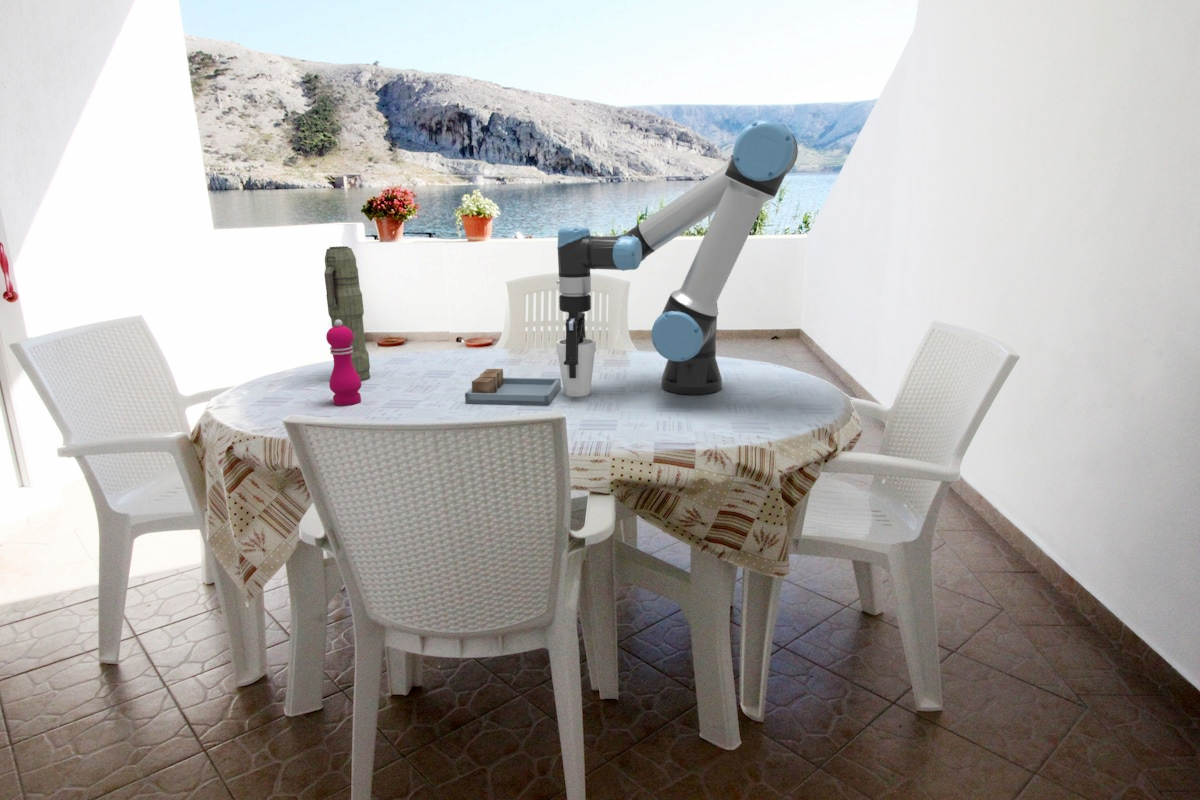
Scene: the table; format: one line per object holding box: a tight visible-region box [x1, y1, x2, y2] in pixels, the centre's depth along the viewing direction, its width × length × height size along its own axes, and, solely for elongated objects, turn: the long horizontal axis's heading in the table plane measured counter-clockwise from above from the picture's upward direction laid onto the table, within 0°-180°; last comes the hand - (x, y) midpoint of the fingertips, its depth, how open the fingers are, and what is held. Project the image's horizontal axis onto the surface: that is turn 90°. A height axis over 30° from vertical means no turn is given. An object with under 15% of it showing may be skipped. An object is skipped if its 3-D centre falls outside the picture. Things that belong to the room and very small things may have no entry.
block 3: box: [482, 368, 504, 388], centre depth 179 cm, size 4×4×4 cm
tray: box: [464, 377, 562, 406], centre depth 175 cm, size 20×16×2 cm
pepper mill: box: [325, 320, 362, 407], centre depth 168 cm, size 7×7×20 cm
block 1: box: [471, 376, 495, 393], centre depth 171 cm, size 4×4×4 cm
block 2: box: [478, 372, 498, 393], centre depth 175 cm, size 4×4×4 cm
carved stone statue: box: [323, 245, 371, 382], centre depth 188 cm, size 9×12×35 cm
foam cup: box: [555, 337, 597, 398], centre depth 174 cm, size 10×9×13 cm
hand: (576, 385), depth 175 cm, fingers closed on foam cup, 9 cm apart
